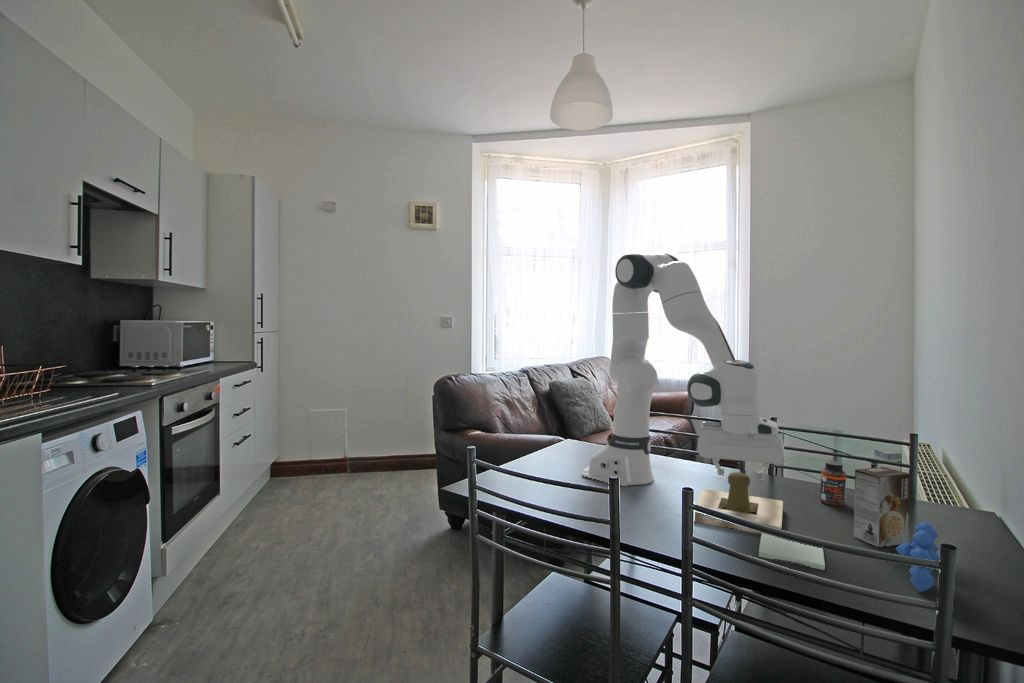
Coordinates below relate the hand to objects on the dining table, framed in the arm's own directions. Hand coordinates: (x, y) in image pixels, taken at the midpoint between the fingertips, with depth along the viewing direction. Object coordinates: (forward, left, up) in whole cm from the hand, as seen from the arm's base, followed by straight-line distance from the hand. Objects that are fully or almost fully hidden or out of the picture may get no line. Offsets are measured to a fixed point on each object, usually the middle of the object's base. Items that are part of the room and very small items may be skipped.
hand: (740, 476), depth 130 cm
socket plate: (0, 0, -10) cm, 10 cm away
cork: (0, 0, -10) cm, 10 cm away
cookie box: (+30, 0, -10) cm, 31 cm away
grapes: (+33, -21, -10) cm, 40 cm away
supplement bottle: (+22, +23, -10) cm, 33 cm away
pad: (+12, -17, -10) cm, 23 cm away
